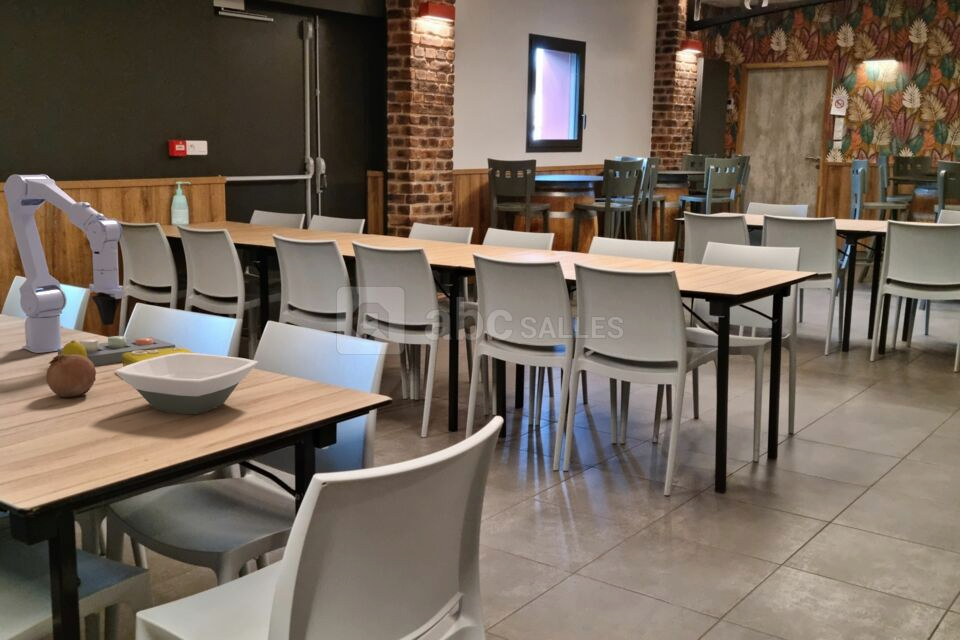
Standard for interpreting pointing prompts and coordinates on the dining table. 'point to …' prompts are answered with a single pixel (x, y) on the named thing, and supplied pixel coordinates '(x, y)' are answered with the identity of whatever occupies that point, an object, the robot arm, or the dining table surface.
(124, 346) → the button sage
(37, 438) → the dining table surface
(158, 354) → the element tile
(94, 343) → the button ivory
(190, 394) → the bowl
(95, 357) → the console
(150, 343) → the button terracotta
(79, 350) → the lemon
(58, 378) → the onion
